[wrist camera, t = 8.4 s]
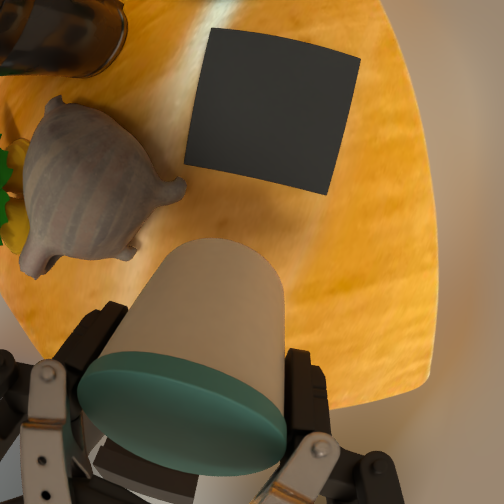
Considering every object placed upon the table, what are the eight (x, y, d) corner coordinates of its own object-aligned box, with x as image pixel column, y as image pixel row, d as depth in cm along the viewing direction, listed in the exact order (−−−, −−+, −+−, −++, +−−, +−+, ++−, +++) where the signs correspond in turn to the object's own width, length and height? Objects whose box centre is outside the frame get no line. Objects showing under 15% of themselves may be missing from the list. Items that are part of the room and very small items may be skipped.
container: (158, 220, 12) (53, 335, 5) (304, 255, 12) (323, 408, 6) (153, 328, 15) (98, 443, 8) (267, 356, 15) (256, 485, 8)
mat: (213, 29, 21) (211, 27, 21) (358, 60, 21) (361, 58, 21) (186, 163, 28) (183, 164, 27) (325, 193, 28) (326, 195, 27)
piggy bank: (112, 288, 34) (11, 302, 21) (83, 188, 37) (-2, 180, 25) (207, 204, 26) (62, 184, 14) (156, 95, 29) (55, 56, 17)
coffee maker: (142, 302, 36) (67, 427, 18) (232, 325, 36) (198, 475, 18) (146, 380, 43) (104, 480, 25) (215, 399, 43) (191, 508, 25)
